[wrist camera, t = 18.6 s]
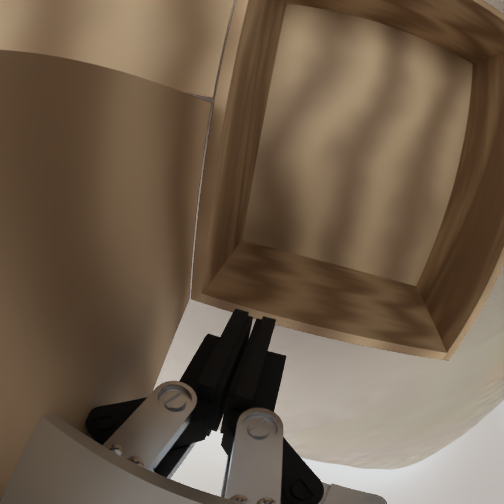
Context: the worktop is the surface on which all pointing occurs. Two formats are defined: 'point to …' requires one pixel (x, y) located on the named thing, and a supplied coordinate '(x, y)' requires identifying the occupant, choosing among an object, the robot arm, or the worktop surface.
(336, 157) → the carton
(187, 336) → the worktop surface
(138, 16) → the flap
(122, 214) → the flap
